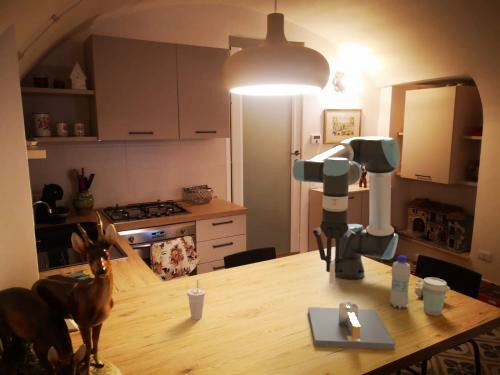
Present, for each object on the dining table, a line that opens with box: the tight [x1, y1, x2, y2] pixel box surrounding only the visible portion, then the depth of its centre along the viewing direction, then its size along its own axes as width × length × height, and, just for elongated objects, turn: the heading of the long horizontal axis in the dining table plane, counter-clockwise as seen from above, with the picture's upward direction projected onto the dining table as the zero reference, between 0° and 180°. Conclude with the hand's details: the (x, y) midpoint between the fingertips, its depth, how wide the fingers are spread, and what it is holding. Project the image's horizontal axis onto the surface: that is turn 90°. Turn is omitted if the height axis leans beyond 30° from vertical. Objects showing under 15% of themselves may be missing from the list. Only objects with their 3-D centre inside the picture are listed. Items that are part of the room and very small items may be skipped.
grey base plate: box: [307, 306, 396, 351], centre depth 125 cm, size 22×24×2 cm
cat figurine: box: [414, 279, 451, 299], centre depth 149 cm, size 8×7×12 cm
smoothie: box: [186, 279, 206, 321], centre depth 131 cm, size 6×6×14 cm
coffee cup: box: [422, 276, 449, 317], centre depth 137 cm, size 8×8×12 cm
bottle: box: [389, 254, 412, 309], centre depth 141 cm, size 7×7×20 cm
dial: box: [338, 301, 360, 339], centre depth 120 cm, size 15×6×6 cm, turn 177°
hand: (332, 281), depth 117 cm, fingers closed
